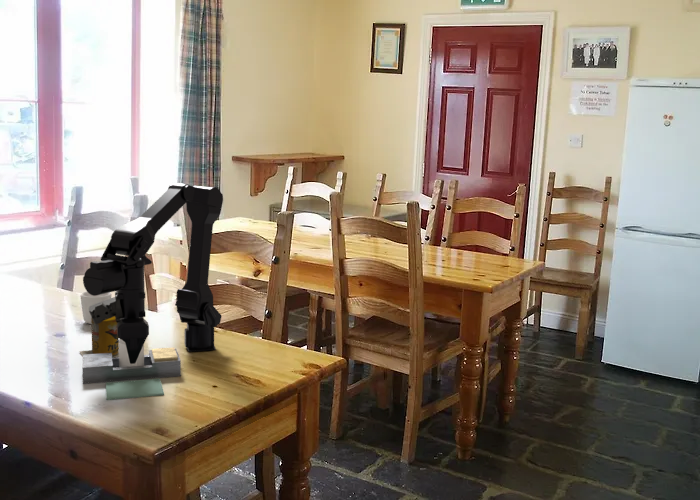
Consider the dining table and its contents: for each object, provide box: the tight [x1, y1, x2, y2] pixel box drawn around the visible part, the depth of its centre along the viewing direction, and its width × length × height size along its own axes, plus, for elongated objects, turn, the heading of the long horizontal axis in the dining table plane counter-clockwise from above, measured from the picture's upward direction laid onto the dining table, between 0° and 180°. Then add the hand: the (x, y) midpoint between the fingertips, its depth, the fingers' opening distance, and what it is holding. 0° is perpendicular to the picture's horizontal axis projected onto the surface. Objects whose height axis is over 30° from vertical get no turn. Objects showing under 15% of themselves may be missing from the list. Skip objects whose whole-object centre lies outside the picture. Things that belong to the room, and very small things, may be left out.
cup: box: [79, 291, 112, 325], centre depth 196 cm, size 11×8×8 cm
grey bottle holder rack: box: [81, 347, 182, 385], centre depth 159 cm, size 20×9×4 cm, turn 109°
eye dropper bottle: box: [119, 339, 145, 367], centre depth 158 cm, size 4×6×12 cm
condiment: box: [78, 316, 119, 357], centre depth 170 cm, size 7×8×12 cm
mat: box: [105, 378, 165, 401], centre depth 149 cm, size 11×9×1 cm
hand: (131, 357), depth 158 cm, fingers open, 9 cm apart
